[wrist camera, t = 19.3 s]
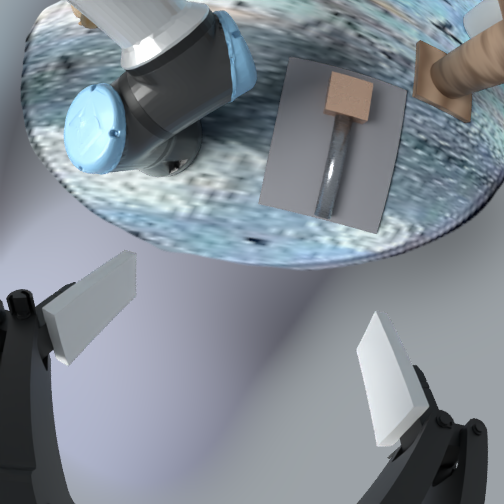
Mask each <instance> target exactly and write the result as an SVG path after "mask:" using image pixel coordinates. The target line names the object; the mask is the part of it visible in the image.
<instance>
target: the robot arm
mask: <svg viewBox="0 0 504 504" xmlns="http://www.w3.org/2000/svg"><path fill="white" fill-rule="evenodd" d="M66 1H67V2H69V3H70V4H71V5H72V6H74V7H75V8H76V9H77V10H79V11H80V12H81V13H82V14H83V15H85V16H86V17H87V18H88V19H89V20H91V21H92V22H93V23H94V24H95V25H96V26H98V27H99V28H100V29H101V30H102V31H103V32H104V33H106V34H107V35H108V36H109V37H110V38H111V39H112V40H113V41H115V42H116V43H117V44H118V45H119V46H120V47H121V48H122V56H121V66H122V67H123V68H124V69H125V70H126V72H125V73H123V74H122V75H121V76H120V77H119V78H117V79H116V80H115V81H114V82H113V83H112V84H110V85H109V84H106V83H100V84H94V85H90V86H88V87H86V88H85V89H83V90H82V91H81V92H80V93H79V94H78V95H77V96H76V98H75V99H74V101H73V102H72V104H71V106H70V108H69V110H68V113H67V116H66V120H65V128H64V143H65V148H66V152H67V154H68V157H69V159H70V160H71V162H72V163H73V165H74V166H75V167H76V168H78V169H79V170H80V171H83V172H86V173H92V174H106V173H109V172H118V171H127V170H137V169H138V170H139V171H141V172H143V173H145V174H147V175H150V176H154V177H165V176H172V175H175V174H177V173H179V172H181V171H183V170H184V169H186V168H187V167H188V166H189V165H190V164H191V163H192V162H193V160H194V159H195V157H196V156H197V154H198V152H199V149H200V146H201V142H202V127H201V123H200V120H199V119H201V118H203V117H204V116H206V115H208V114H209V113H211V112H213V111H214V110H216V109H218V108H220V107H221V106H223V105H225V104H227V103H231V102H233V101H234V100H235V98H237V97H238V96H240V95H242V94H244V93H245V92H247V91H249V90H250V89H252V88H253V87H254V85H255V83H256V80H257V72H256V67H255V64H254V61H253V58H252V56H251V53H250V51H249V48H248V46H247V44H246V42H245V40H244V38H243V37H242V36H241V33H240V31H239V29H238V27H237V25H236V23H235V22H234V20H233V19H232V17H231V16H230V15H229V14H228V13H227V12H226V11H223V10H222V11H215V12H213V13H212V11H211V10H210V9H209V7H208V6H207V5H206V4H204V3H197V2H188V1H186V0H66ZM135 297H136V253H133V252H130V251H127V250H124V251H123V252H122V253H120V254H118V255H117V256H115V257H114V258H112V259H111V260H109V261H108V262H106V263H105V264H103V265H102V266H100V267H99V268H97V269H96V270H94V271H93V272H91V273H90V274H88V275H87V276H85V277H84V278H83V279H81V280H80V281H78V282H77V283H76V282H73V283H70V284H68V285H65V286H64V287H62V288H61V289H59V290H58V291H57V292H55V293H54V294H53V295H51V296H50V297H48V298H47V299H46V300H44V301H43V302H41V303H40V304H39V305H37V306H36V307H35V304H34V300H33V295H32V293H31V292H30V291H28V290H25V289H20V290H16V291H14V292H11V293H10V294H9V295H8V296H7V298H6V299H7V303H8V307H9V310H10V311H8V310H5V309H4V306H3V303H2V301H1V300H0V504H75V503H74V502H73V500H72V498H71V496H70V494H69V491H68V488H67V484H66V481H65V477H64V473H63V469H62V464H61V459H60V455H59V450H58V444H57V437H56V431H55V424H54V415H53V404H52V391H51V359H50V355H49V353H50V352H51V351H52V350H54V353H55V356H56V358H57V360H59V361H61V362H63V363H64V364H66V365H67V366H69V365H70V364H71V363H72V362H73V361H74V360H75V358H77V357H78V355H79V354H80V353H81V352H82V351H83V350H84V349H85V348H86V347H87V346H88V345H89V344H90V343H91V342H92V340H94V338H95V337H96V336H97V335H98V334H99V333H100V332H101V331H102V330H103V329H104V328H105V327H106V326H107V325H108V324H109V323H110V322H111V321H112V320H113V318H115V317H116V316H117V315H118V314H119V313H120V312H121V311H122V310H123V309H124V308H125V307H126V306H127V305H128V304H129V303H130V302H131V301H132V300H133V299H134V298H135ZM356 351H357V354H358V358H359V363H360V366H361V371H362V375H363V379H364V384H365V388H366V393H367V397H368V402H369V407H370V411H371V417H372V422H373V427H374V433H375V438H376V443H377V446H392V445H393V444H394V443H395V442H397V441H398V440H399V439H400V441H401V446H400V447H399V448H398V449H396V450H395V451H394V452H393V453H392V454H391V455H390V456H389V457H388V458H389V459H390V458H391V457H392V458H391V459H390V461H389V462H388V464H387V465H386V467H385V468H384V469H383V471H382V472H381V473H380V475H379V476H378V478H377V479H376V480H375V482H374V483H373V484H372V486H371V487H370V488H369V489H368V491H367V492H366V493H365V494H364V496H363V497H362V498H361V500H359V502H358V503H357V504H484V502H485V494H486V483H487V465H488V438H487V429H486V427H485V425H484V423H483V422H482V421H480V420H478V419H475V418H473V419H470V421H469V422H468V423H467V424H466V425H465V426H464V425H460V424H455V423H454V421H453V419H452V417H451V416H450V415H449V414H448V413H447V412H445V411H442V410H439V409H438V406H437V404H436V401H435V399H434V397H433V395H432V392H431V390H430V389H429V385H428V383H427V382H426V378H425V376H424V374H423V372H422V371H421V370H420V369H419V368H418V366H417V365H412V363H411V361H410V359H409V356H408V355H407V352H406V350H405V348H404V346H403V343H402V341H401V339H400V337H399V335H398V333H397V331H396V329H395V327H394V325H393V323H392V321H391V319H390V317H389V315H388V313H386V312H381V311H375V313H374V315H373V317H372V319H371V321H370V323H369V326H368V328H367V330H366V332H365V334H364V336H363V338H362V340H361V342H360V344H359V346H358V348H357V350H356ZM457 463H458V466H457V468H456V464H457Z"/></svg>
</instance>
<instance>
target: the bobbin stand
mask: <svg viewBox="0 0 504 504" xmlns="http://www.w3.org/2000/svg"><path fill="white" fill-rule="evenodd" d="M498 3H499V6H500V10H501V14H502V18H503V20H501V21H499V22H497V23H496V24H494V25H492V26H491V27H489V28H487V29H486V30H484V31H483V32H481V33H479V34H478V35H476V36H474V37H473V38H471V39H470V40H468V41H467V42H465V43H463V44H462V45H460V46H459V47H457V48H456V49H454V50H453V51H451V52H450V53H448V54H446V53H445V52H443V51H441V50H439V49H437V48H435V47H433V46H431V45H429V44H427V43H425V42H423V41H421V40H420V41H419V42H418V43H416V62H415V76H414V86H413V96H412V97H415V98H417V99H419V100H421V101H424V102H426V103H428V104H430V105H432V106H434V107H436V108H438V109H440V110H442V111H444V112H446V113H448V114H450V115H452V116H454V117H455V118H457V119H459V120H461V121H463V122H464V123H468V122H470V120H471V106H472V93H474V92H477V91H480V90H483V89H487V88H490V87H493V86H496V85H500V84H503V83H504V0H498Z"/></svg>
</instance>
